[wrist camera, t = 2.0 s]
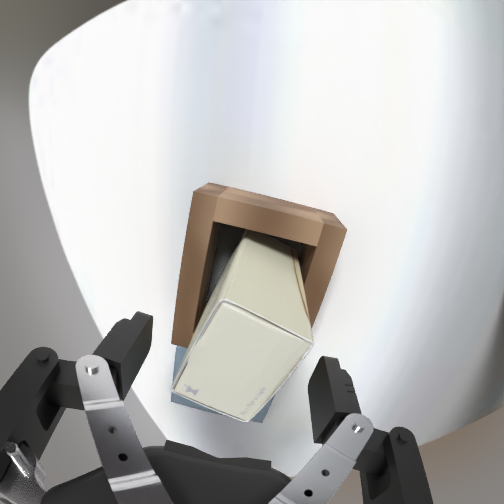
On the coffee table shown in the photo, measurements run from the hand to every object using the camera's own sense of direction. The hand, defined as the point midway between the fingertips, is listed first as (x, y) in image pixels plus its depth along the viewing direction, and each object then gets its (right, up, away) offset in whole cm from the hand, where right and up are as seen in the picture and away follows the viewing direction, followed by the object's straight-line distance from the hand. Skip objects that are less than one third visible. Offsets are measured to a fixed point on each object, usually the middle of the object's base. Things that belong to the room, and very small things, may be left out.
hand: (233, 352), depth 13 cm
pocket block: (+1, +3, +10) cm, 11 cm away
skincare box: (+1, +3, +11) cm, 11 cm away
